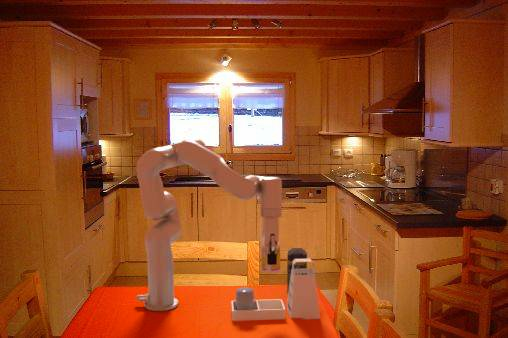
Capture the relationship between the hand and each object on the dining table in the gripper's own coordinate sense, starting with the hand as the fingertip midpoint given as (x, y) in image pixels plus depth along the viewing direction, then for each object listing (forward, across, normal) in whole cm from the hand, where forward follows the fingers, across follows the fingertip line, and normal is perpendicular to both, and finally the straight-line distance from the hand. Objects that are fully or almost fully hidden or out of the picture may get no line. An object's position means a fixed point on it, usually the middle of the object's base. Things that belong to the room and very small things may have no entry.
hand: (270, 260), depth 186 cm
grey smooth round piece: (+20, 0, -9) cm, 22 cm away
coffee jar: (+20, -20, +13) cm, 31 cm away
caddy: (+20, 0, -5) cm, 21 cm away
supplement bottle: (+4, 0, 0) cm, 4 cm away
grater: (+20, -1, +12) cm, 24 cm away
